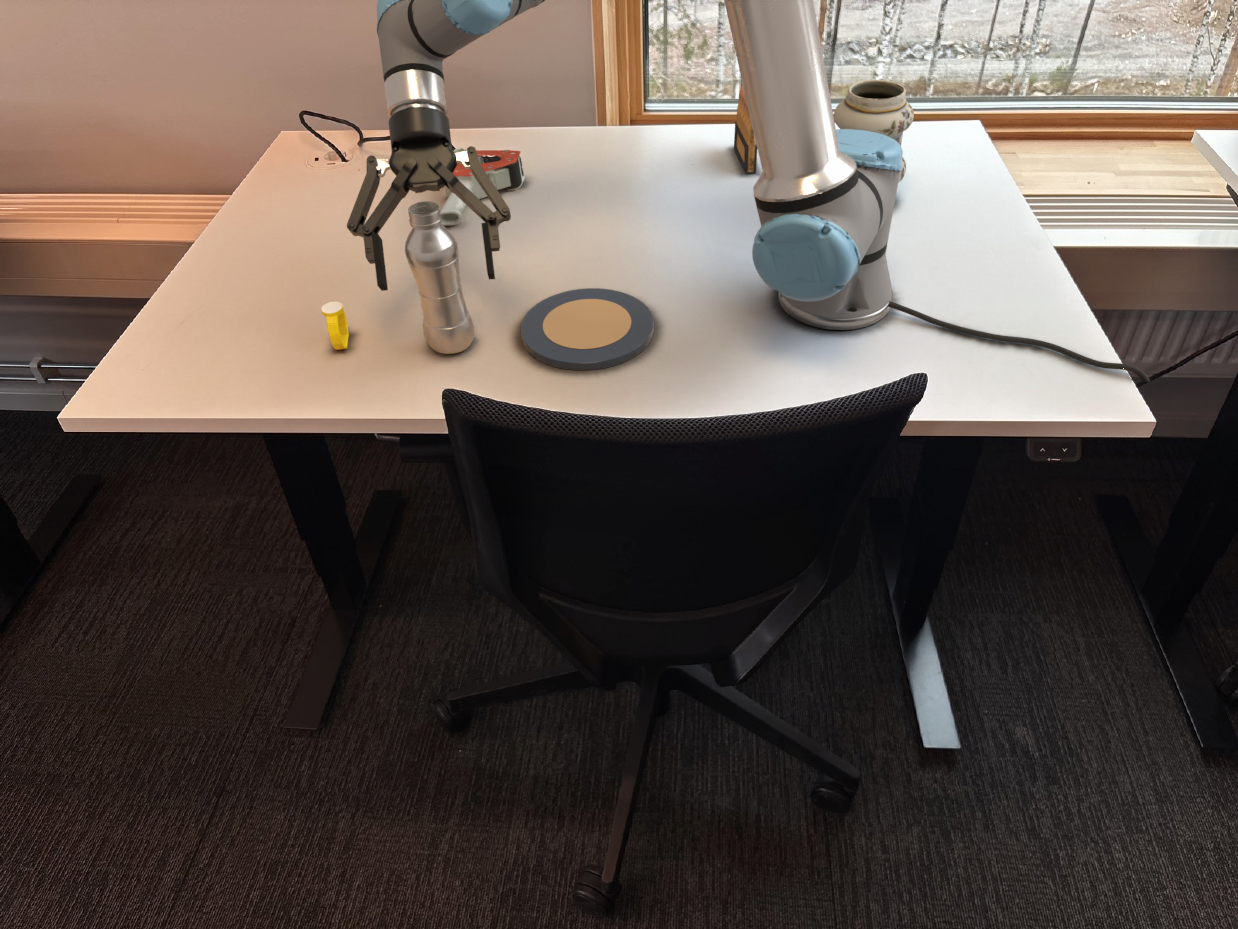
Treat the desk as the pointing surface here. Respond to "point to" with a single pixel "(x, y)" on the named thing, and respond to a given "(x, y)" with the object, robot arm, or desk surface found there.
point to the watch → (336, 324)
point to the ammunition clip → (745, 136)
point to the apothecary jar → (876, 110)
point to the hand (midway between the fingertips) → (437, 282)
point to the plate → (587, 329)
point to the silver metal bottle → (438, 280)
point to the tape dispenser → (499, 173)
